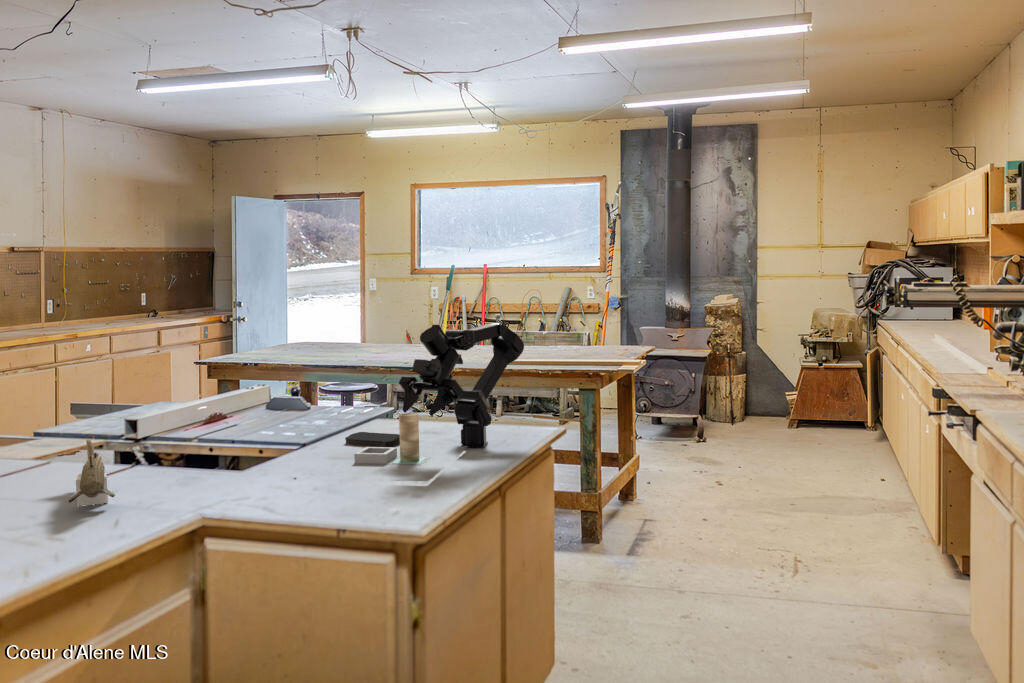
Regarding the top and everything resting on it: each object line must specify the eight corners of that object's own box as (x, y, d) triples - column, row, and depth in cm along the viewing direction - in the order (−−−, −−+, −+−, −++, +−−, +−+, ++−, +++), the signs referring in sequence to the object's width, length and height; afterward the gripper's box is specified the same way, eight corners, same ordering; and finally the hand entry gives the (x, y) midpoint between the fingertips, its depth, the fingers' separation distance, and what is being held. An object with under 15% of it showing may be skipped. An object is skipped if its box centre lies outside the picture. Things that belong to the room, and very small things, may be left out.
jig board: (431, 461, 219) (430, 448, 218) (421, 469, 210) (420, 455, 209) (366, 459, 222) (366, 446, 222) (353, 467, 213) (353, 453, 213)
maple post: (419, 457, 217) (418, 412, 217) (419, 462, 212) (418, 416, 212) (400, 458, 217) (399, 413, 216) (399, 462, 212) (398, 416, 211)
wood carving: (112, 481, 203) (110, 436, 202) (117, 516, 172) (113, 463, 171) (71, 485, 199) (68, 440, 198) (68, 522, 168) (64, 468, 167)
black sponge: (404, 447, 239) (404, 434, 239) (388, 452, 231) (388, 440, 231) (358, 443, 246) (358, 431, 246) (341, 448, 239) (340, 436, 238)
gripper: (402, 346, 225) (375, 391, 217) (455, 349, 214) (429, 396, 206) (422, 372, 232) (396, 417, 224) (474, 375, 221) (450, 422, 213)
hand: (416, 412), depth 217 cm, fingers open, 9 cm apart
